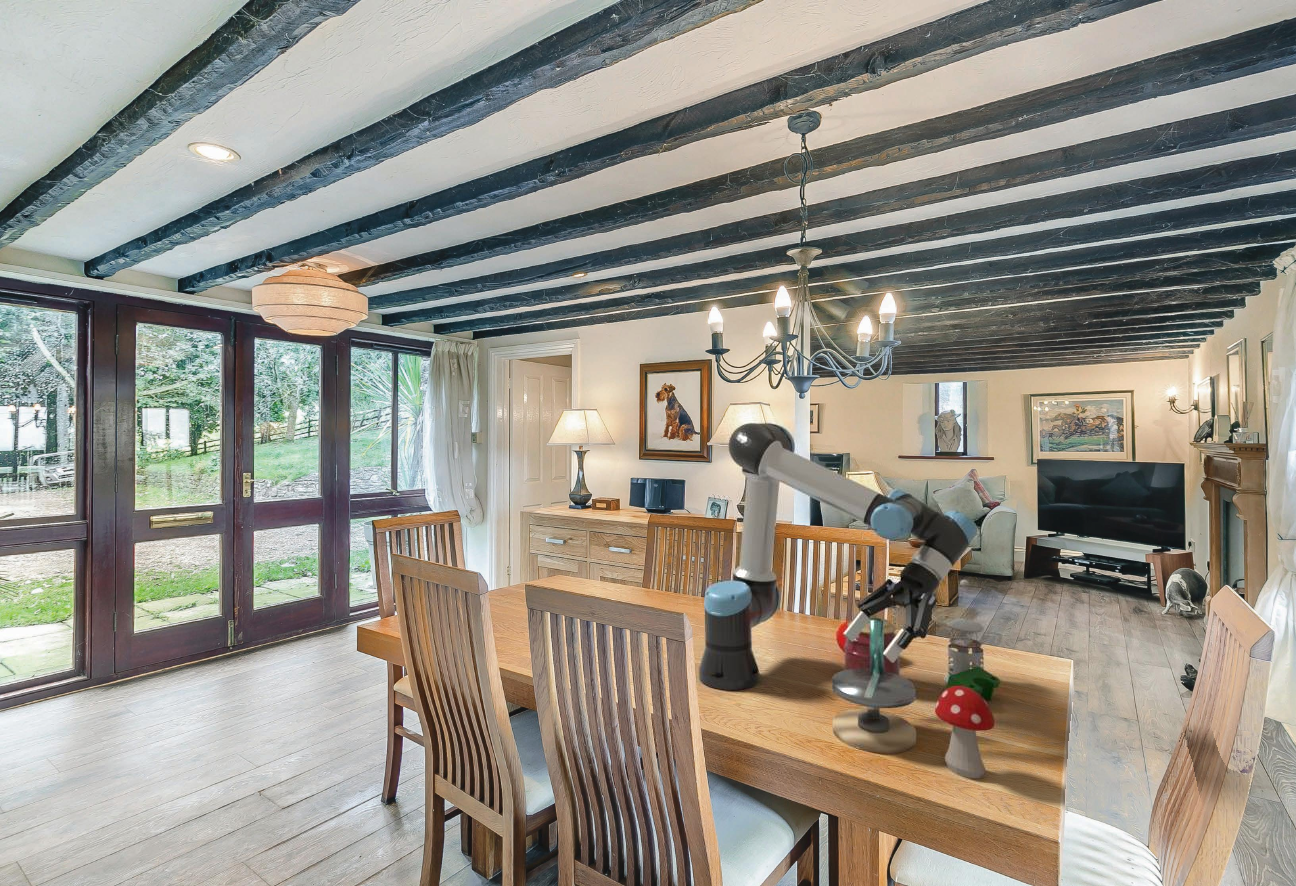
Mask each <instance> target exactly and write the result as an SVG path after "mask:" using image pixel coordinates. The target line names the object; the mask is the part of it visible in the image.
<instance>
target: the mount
mask: <svg viewBox="0 0 1296 886" xmlns="http://www.w3.org/2000/svg"><path fill="white" fill-rule="evenodd" d="M832 732H833V734H834V736H835V737H836V738H837V739H838V740H839V741H840V742H842V743H844V744H846V745H848V746H850V747H852V748H855V749H858V750H861V751H864V752H869V753H874V752H876V753H875V754H887V755H889V754H897V753H898V754H899V753H904V752H907V751H909V750H911V749H913V748H914V747H915V746H916V744H917V729H916V728H915V726H914V725H913V724H911V723H910V722H909V721H908V720H906V719H905V718H903V717H900V716H898V715H896V714H893V713H890V712H886V711H882V710H880V719H879V720H871V719H869V718H867V708H857V709H855V708H854V709H853V708H852V709H849V710H848V709H847V710H845V711H841V712H839V713H837V714H836V715H834V717H833V718H832Z"/></svg>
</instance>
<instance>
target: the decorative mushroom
mask: <svg viewBox="0 0 1296 886" xmlns="http://www.w3.org/2000/svg"><path fill="white" fill-rule="evenodd" d="M934 707H935V709H934V714H935V715H936V717H938V718H939V720H941V721H942V722H945V723H947V724H949V725H951V726H952V732H951V734H950V740H949V741H950V742H949V745H948V749H947V751H946V752H945V755H944V760H945V764H946V766H947V768H948V769H949V770H950V771H951V772H952V773H954V774H955V775H958V776H960V775H961V776H960V777H963V778H966V777H967V779H971V778H974V779H973V780H979V778H980V779H982V778H983V776H984V774H985V772H986V766H985V765H984V764H985V763H984V762H983V759H982V757H981V753H980V748H979V742H978V737H977V732H978V731H979V732H980V731H981V732H983V731H984V732H985V731H989V730H992V729H994V728H995V718H994V715H993V712H992V710H991V709H990V708H989V705H988V703H987V701H986V699H985V698H983V697H981V696H980V695H979V694H978V693H977V692H975V691H974V690H972V689H970V688H967V687H963V686H953V687H950V688H948V689H946V688H945V689H944V690H943V692H942V693H941V694H940V695H939V698H938V699H937V701H936V703H935V706H934ZM975 778H977V779H975Z"/></svg>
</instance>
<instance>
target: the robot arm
mask: <svg viewBox="0 0 1296 886" xmlns="http://www.w3.org/2000/svg"><path fill="white" fill-rule="evenodd" d="M795 446H796V445H795V441H794V437H793V435H792V434H791V433H790V432H789V430H788V429H787V428H786V427H784V426H781V425H779V424H776V423H771V422H770V423H769V422H768V423H766V422H765V423H763V422H761V423H760V422H757V423H756V422H755V423H753V422H748V423H744V424H742V425H740V426H738V427H737V428H736V429H734V431H733V432H732V434H731V435H730V438H729V441H728V452H729V455H730V457H731V459H732V461H733V462H734V463H735V464H736V465H738V466H739V467H740V468H741V474H743V475H744V476H745V477H746V487H745V497H744V498H745V500H744V507H743V508H744V510H743V522H742V533H741V544H740V545H741V546H740V553H739V554H740V556H739V557H740V558H739V565H738V566H737V567H736V568H735V569H733V571H732V580H725V581H722V582H721V581H718V582H715V583H713V584H711V585H709V586H708V587H707V589H706V590H705V593H704V600H703V607H704V634H705V635H704V639H705V647H704V650H703V654H702V657H701V661H700V664H699V667H698V679H699V681H700V682H701V683H702V684H704V685H705V686H707V687H710V688H714V689H718V690H723V691H724V690H728V691H732V690H733V691H735V690H736V691H737V690H745V689H750V688H752V687H754V686H756V685H757V684H758V683H759V682H760V670H759V666H758V663H757V660H756V657H755V654H754V651H753V648H752V647H753V646H752V644H753V643H752V642H753V641H752V628H754V627H756V626H758V625H760V624H761V623H765V622H766V621H768V620H769V619H771V618H772V617H773V616H774V615H775V614H776V612H778V611H779V608H780V605H781V602H782V596H781V591H780V588H779V587H778V585H777V575H776V573H775V572H774V571H773V570H772V568H773V560H774V559H773V558H774V548H775V547H774V546H775V545H774V544H775V537H776V536H775V534H776V524H777V514H778V500H779V492H780V483H782V484H785V485H786V486H788V487H790V488H792V489H794V490H796V491H798V492H801V493H802V494H804V495H807V496H808V497H810V498H812V499H814V500H816V501H818V502H820V503H822V504H824V505H825V506H826V505H827V506H828V507H831V508H832V509H834V510H836V511H837V512H838V511H839V512H840V513H842V514H844V515H846V516H848V517H850V518H852V519H854V520H856V521H859V522H860V523H862V524H864V525H866V526H868V527H870V528H872V530H873V532H874V533H875V534H876V535H877V536H878V537H880V538H882V539H885V540H890V541H891V540H898V539H901V538H905V537H906V536H907V535H908V534H910V535H912V536H914V537H915V538H917V539H918V540H920V541H922V542H923V543H922V545H921V546H920V547H919V548H918V549H917V551H916V552H915V553H914V554H913V555H912V557H911V558H910V562H908V563H907V564H906V565H905V566H904V568H903V569H902V570H901V572H900V573H899V575H900V579H899V581H898V582H896V583H895V582H894V581H893V580H892V579H891V578H888V579H887V580H885V582H884V583H883V584H882V585H881V586H878V588H877V589H875V590H874V591H872V592H871V593H870V594H868V595H866V596H865V597H864V598H862V599H861V600H860V601H858V602H856V606H855V607H857V608H858V610H859V611H858V613H857V614H856V615H855V617H854V618H853V619H852V620H853V621H852V623H851V624H850V626H849V627H848V628H847V630H846V631H845V632H844V634H845V635H846V636H847V637H848V638H849V639H850V640H851V641H852V642H853V641H854V640H855V639H856V637H857V636H858V635H859V634H860V632H861V631H862V630H863V628H864V627H865V626H866V624H867V623H868V622H869V621H870V616H872V615H874V614H876V615H877V614H878V613H880V612H882V611H884V610H886V609H888V608H891V607H896V606H899V607H903V608H905V626H903V628H904V629H903V628H901V629H900V630H899V631H898V633H896V634H897V635H896V637H895V638H894V639H893V641H892V642H891V643H890V645H889V646H888V647H887V649H886V650H885V651H884V653H883V654H884V655H885V656H886V657H887V658H888V659H889V660H890V661H891V662H892V663H894V661H895V660H896V659H897V657H898V656H899V657H900V655H901V654H902V652H903V651H904V650H906V649H907V648H908V647H909V645H910V644H911V643H912V641H913V639H916V638H921V639H926V637H927V634H928V631H929V630H928V629H929V625H930V622H931V617H932V613H933V609H934V607H935V606H936V604H937V602H938V599H937V597H935V596H934V595H933V594H934V592H935V591H936V590H937V588H938V587H939V585H940V582H942V581H943V580H944V579H945V577H946V576H947V575H948V573H949V572H950V570H951V569H952V568H953V567H954V565H956V563H957V562H958V560H959V559H960V558H961V557H962V555H963V554H964V553H965V552H966V551H967V549H968V547H969V546H970V545H971V543H972V542H973V541H974V539H975V537H976V535H977V534H978V526H977V525H976V523H975V522H974V520H973V519H972V518H971V517H969V516H968V515H967V514H966V513H965V514H964V513H962V512H959V511H957V510H948V511H947V512H946V513H944V514H942V512H939V511H937V510H935V509H933V508H932V507H931V506H928V505H927V504H926V503H924V502H922V501H921V500H919V499H918V498H917V497H915V496H913V495H912V494H911V493H909V492H908V493H907V492H906V491H904V490H903V489H900V488H896V489H893V490H892V491H891V492H890V493H889V494H888V495H887V496H886V495H885V494H881V492H879V491H876V490H874V489H871V488H869V487H868V486H865V485H863V484H861V483H859V482H856V481H854V480H852V479H850V478H848V477H846V476H843V475H841V474H840V473H837V472H835V471H833V470H831V469H829V468H826V467H825V466H823V465H820V464H818V463H817V462H814V461H812V460H810V459H808V458H805V457H803V456H802V455H799V454H797V453H795V449H796V447H795Z"/></svg>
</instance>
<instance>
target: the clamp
mask: <svg viewBox="0 0 1296 886" xmlns="http://www.w3.org/2000/svg"><path fill="white" fill-rule="evenodd" d="M946 683H947V682H946ZM1000 683H1001V680H1000V678H999V677H997V676H996V675H994V674H992V673H990V672H989V671H987V670H985V669H984V670H983V669H982V668H980V667H978V666H977V667H974V668H970V669H969V670H966V671H963V672H960V673H957V674H954V675H951V676H949V679H948V683H947V684H946V687H945V690H946V689H948V688H950V687H953V686H963V687H967V688H970V689H972V690H974V691H975V692H977V693H978V694H979V695H980V696H981V697H982V698H983V699H984V700H986V701H989V702H991V701H992V698H993V696H994V695H993V694H994V691H995V689H998V688H999V687H1000Z"/></svg>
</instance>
